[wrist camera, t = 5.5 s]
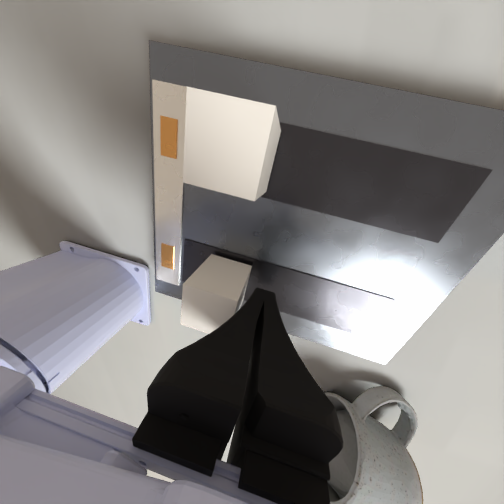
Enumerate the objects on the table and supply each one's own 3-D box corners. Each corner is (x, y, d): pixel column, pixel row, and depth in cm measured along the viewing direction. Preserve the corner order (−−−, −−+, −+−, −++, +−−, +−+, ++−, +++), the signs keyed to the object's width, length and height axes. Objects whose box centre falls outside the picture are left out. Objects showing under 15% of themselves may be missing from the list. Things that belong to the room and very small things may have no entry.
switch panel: (169, 279, 18) (154, 292, 16) (172, 62, 11) (146, 38, 9) (374, 343, 16) (386, 366, 14) (536, 137, 9) (603, 128, 7)
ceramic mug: (349, 437, 23) (377, 554, 16) (296, 406, 22) (301, 512, 15) (428, 405, 18) (515, 548, 11) (364, 365, 18) (414, 489, 11)
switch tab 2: (207, 287, 14) (180, 324, 11) (211, 254, 13) (182, 284, 9) (243, 298, 14) (228, 340, 10) (252, 265, 12) (237, 301, 9)
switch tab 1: (217, 179, 11) (182, 182, 7) (224, 118, 9) (187, 86, 6) (266, 191, 10) (254, 201, 7) (281, 130, 9) (275, 105, 6)
